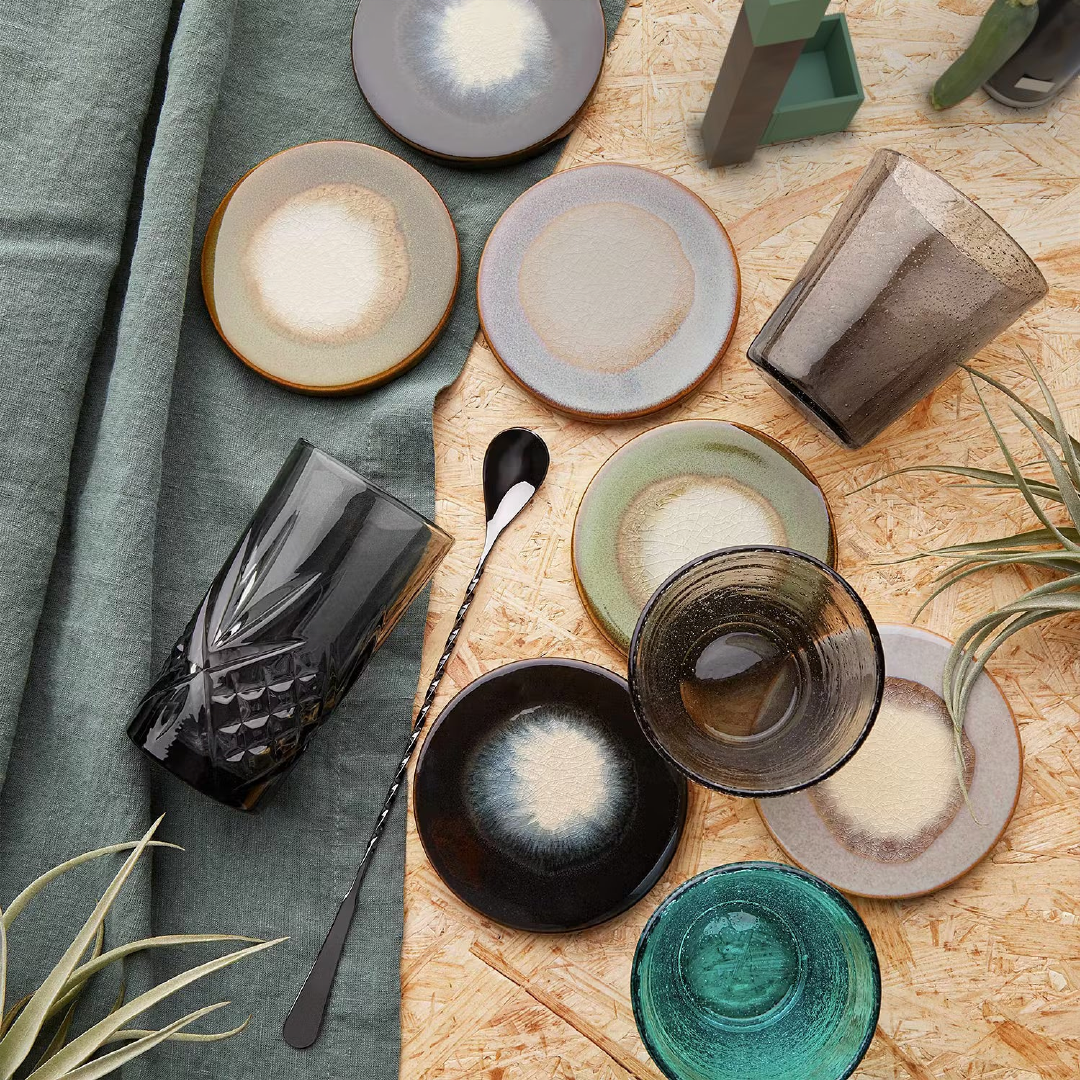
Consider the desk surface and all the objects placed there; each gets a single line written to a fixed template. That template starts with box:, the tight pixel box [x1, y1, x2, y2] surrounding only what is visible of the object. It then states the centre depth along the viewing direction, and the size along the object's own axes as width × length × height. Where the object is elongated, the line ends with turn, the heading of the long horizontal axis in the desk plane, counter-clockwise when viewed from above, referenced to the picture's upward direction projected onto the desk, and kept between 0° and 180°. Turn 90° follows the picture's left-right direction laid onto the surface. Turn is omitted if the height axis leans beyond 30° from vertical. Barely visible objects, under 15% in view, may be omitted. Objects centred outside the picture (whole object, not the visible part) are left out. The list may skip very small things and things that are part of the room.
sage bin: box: [758, 11, 866, 146], centre depth 93 cm, size 9×9×6 cm
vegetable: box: [929, 0, 1039, 110], centre depth 86 cm, size 4×4×20 cm
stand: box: [699, 0, 807, 170], centre depth 85 cm, size 4×4×20 cm
